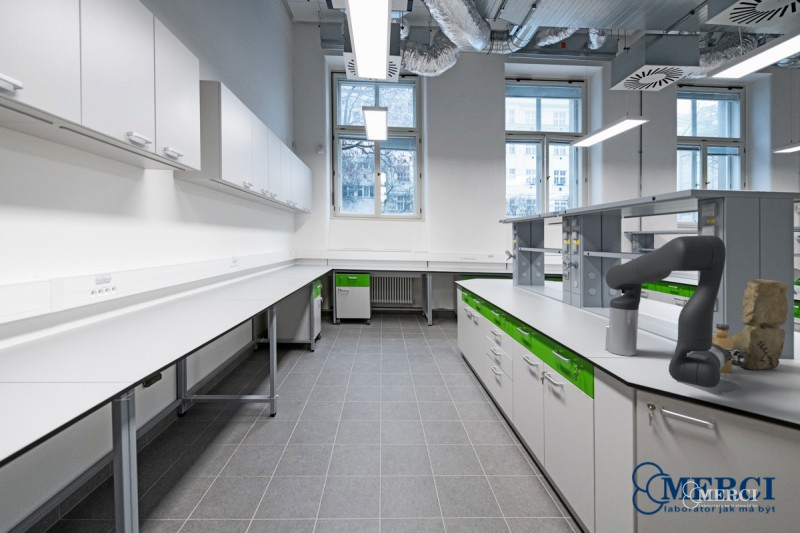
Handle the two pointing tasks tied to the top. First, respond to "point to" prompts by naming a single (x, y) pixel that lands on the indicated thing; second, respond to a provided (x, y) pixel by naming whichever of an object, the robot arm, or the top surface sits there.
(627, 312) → the robot arm
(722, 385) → the mat
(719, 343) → the bottle
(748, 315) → the sculpture
